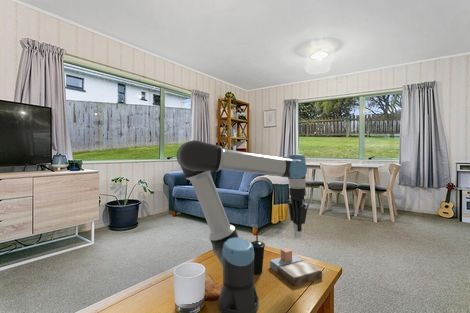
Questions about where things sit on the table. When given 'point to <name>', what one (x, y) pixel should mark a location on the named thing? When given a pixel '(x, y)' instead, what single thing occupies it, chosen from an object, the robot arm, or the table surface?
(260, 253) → the black tall container
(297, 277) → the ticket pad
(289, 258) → the blue base with cube
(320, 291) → the table surface
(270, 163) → the robot arm
